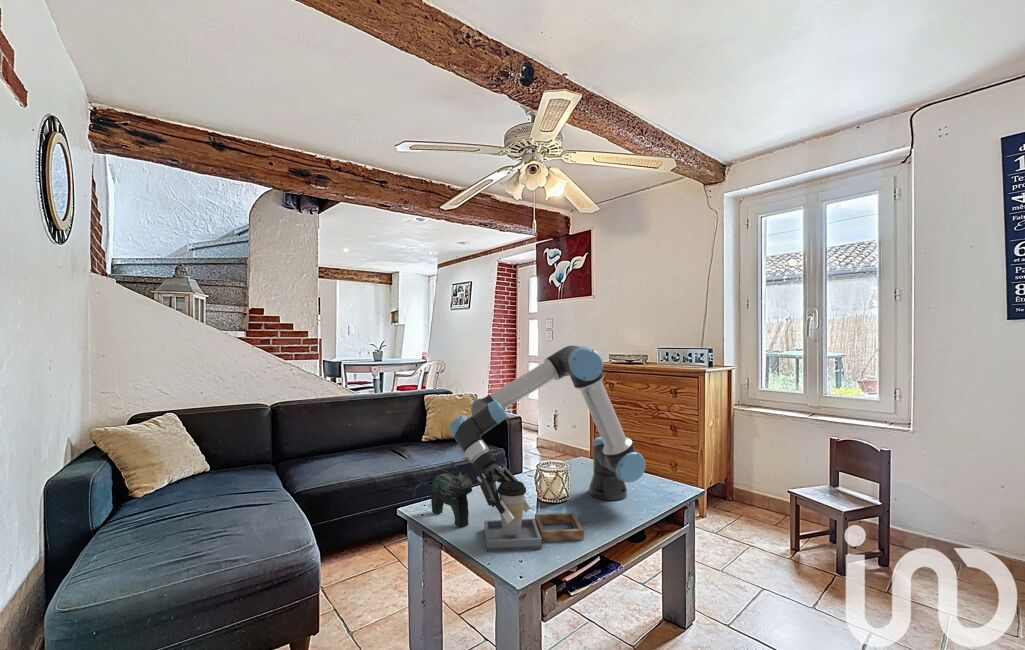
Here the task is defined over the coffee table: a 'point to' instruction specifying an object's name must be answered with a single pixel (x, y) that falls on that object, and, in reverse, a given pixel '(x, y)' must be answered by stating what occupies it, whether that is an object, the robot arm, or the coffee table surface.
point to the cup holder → (559, 534)
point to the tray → (512, 536)
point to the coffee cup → (512, 505)
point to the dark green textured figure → (452, 495)
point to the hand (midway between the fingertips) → (520, 515)
